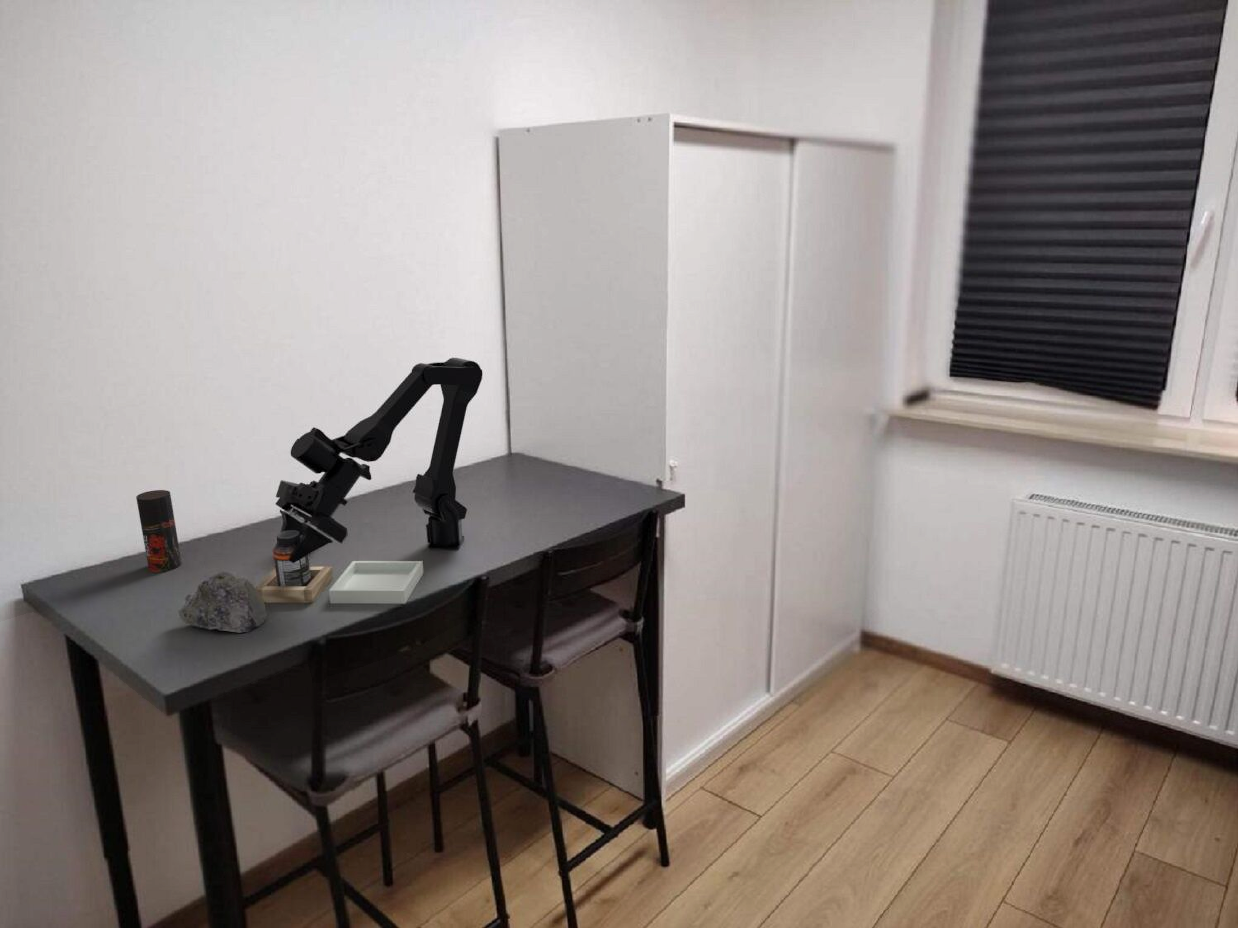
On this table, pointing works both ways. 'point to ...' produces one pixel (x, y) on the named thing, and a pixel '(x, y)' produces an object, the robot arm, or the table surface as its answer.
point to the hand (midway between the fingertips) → (283, 557)
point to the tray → (377, 582)
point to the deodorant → (159, 530)
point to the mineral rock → (224, 604)
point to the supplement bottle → (284, 568)
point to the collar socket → (295, 587)
